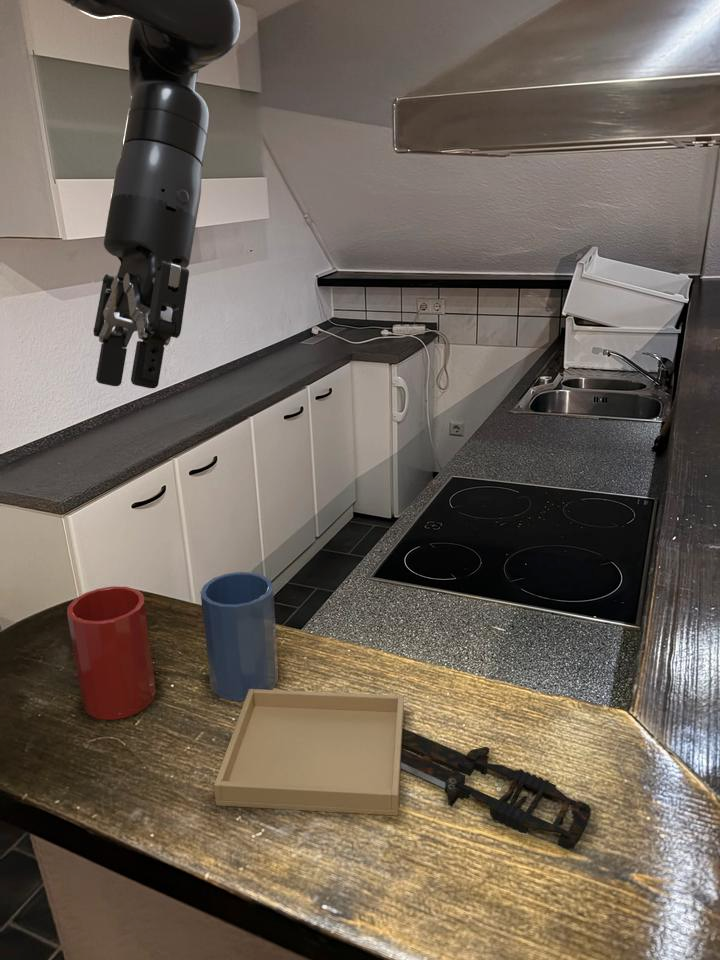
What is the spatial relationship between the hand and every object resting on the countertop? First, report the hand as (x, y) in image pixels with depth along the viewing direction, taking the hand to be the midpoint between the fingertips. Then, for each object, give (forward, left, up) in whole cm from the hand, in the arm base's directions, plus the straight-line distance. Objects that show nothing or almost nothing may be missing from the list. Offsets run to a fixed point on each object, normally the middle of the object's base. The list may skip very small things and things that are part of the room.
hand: (125, 385), depth 69 cm
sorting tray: (+18, -14, -28) cm, 36 cm away
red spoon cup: (-1, -8, -28) cm, 29 cm away
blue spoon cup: (+10, -4, -28) cm, 30 cm away
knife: (+28, -15, -29) cm, 43 cm away
